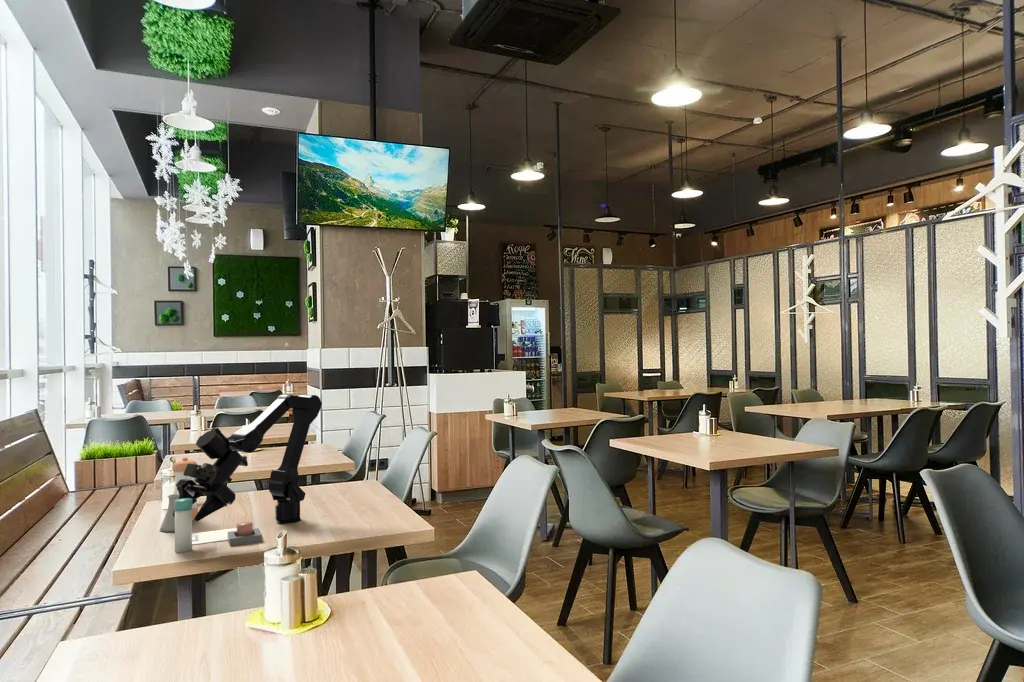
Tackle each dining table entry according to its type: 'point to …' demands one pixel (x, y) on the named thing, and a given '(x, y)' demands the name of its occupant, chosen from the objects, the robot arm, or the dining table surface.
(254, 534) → the button collar
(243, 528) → the button
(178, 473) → the pepper shaker
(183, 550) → the marker
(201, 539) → the paper
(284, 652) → the dining table surface
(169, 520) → the flask
